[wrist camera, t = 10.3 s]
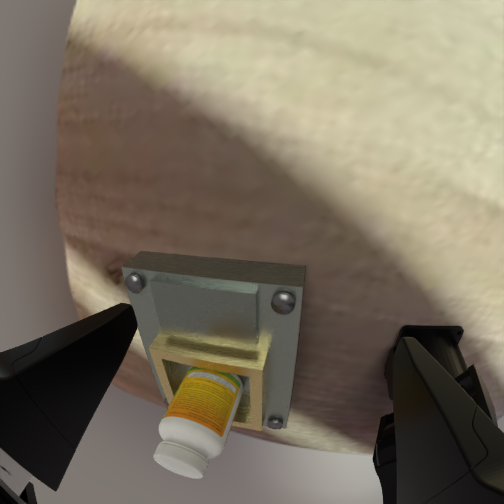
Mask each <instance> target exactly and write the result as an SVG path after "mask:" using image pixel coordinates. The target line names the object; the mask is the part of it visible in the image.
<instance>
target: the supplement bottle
mask: <svg viewBox="0 0 504 504" xmlns="http://www.w3.org/2000/svg"><path fill="white" fill-rule="evenodd" d="M242 393H243V383H242V381H241V379H240V378H239V377H238V376H237V375H236V374H230V373H224V372H219V371H214V370H209V369H204V368H199V367H194V366H191V367H190V368H189V369H188V371H187V373H186V375H185V376H184V379H183V380H182V382H181V384H180V386H179V388H178V390H177V392H176V394H175V396H174V398H173V400H172V401H171V403H170V405H169V407H168V409H167V411H166V413H165V414H164V416H163V418H162V420H161V422H160V424H159V433H160V436H161V437H162V439H163V440H164V441H162V442H160V444H159V445H158V447H157V449H156V452H155V454H154V459H155V460H156V462H158V463H159V464H160V465H162V466H163V467H165V468H166V469H169V470H170V471H172V472H175V473H177V474H180V475H182V476H186V477H190V478H197V479H199V478H202V477H203V476H204V473H205V471H206V469H207V467H208V460H207V459H209V458H214V457H216V456H218V455H219V454H220V453H221V452H222V451H223V448H224V446H225V443H226V440H227V437H228V435H229V432H230V429H231V426H232V423H233V420H234V417H235V414H236V411H237V408H238V406H239V403H240V400H241V396H242Z"/></svg>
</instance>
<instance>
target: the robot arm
mask: <svg viewBox="0 0 504 504" xmlns="http://www.w3.org/2000/svg"><path fill="white" fill-rule="evenodd" d="M137 327H138V323H137V319H136V315H135V312H134V308H133V306H132V305H130V304H126V303H120V304H118V305H115V306H113V307H110V308H108V309H106V310H103V311H101V312H99V313H96V314H94V315H92V316H89V317H87V318H85V319H82V320H80V321H78V322H75V323H73V324H71V325H68V326H66V327H63V328H61V329H59V330H56V331H54V332H52V333H49V334H47V335H45V336H43V337H40V338H38V339H35V340H33V341H31V342H28V343H26V344H23V345H20V346H18V347H15V348H12V349H9V350H6V351H4V352H0V504H37V501H36V496H35V492H34V487H33V484H32V483H31V482H30V481H29V480H30V479H31V478H32V476H34V477H36V478H37V479H38V480H40V481H41V482H43V483H44V484H45V485H47V486H48V487H50V488H51V489H53V490H54V491H57V489H58V488H59V485H60V483H61V481H62V479H63V476H64V474H65V472H66V470H67V468H68V466H69V463H70V461H71V459H72V457H73V455H74V453H75V451H76V448H77V447H78V444H79V442H80V440H81V438H82V436H83V434H84V433H85V431H86V429H87V427H88V424H89V423H90V421H91V419H92V417H93V415H94V413H95V411H96V409H97V407H98V405H99V404H100V402H101V400H102V398H103V396H104V394H105V392H106V391H107V389H108V387H109V385H110V383H111V381H112V380H113V378H114V376H115V374H116V373H117V371H118V369H119V367H120V365H121V363H122V361H123V359H124V357H125V355H126V353H127V350H128V348H129V346H130V344H131V341H132V339H133V337H134V335H135V332H136V330H137ZM405 331H407V332H405ZM457 332H458V333H457ZM463 332H464V330H463V328H462V327H461V326H412V325H407V326H404V327H403V328H402V329H401V331H400V334H399V337H398V339H397V342H396V345H395V346H394V347H393V348H392V350H391V352H390V355H389V358H388V360H387V363H386V365H385V373H384V376H385V378H386V379H387V384H388V392H389V398H390V400H393V411H394V412H393V413H391V414H389V415H388V414H387V415H385V416H382V417H381V420H380V425H379V430H378V435H377V440H376V444H375V449H374V454H373V463H374V466H375V470H376V473H377V475H378V477H379V479H380V483H381V487H382V493H383V504H504V433H503V432H502V431H501V430H500V429H499V428H498V424H497V419H496V413H495V408H494V405H493V402H492V400H491V397H490V394H489V392H488V389H487V387H486V385H485V383H484V381H483V379H482V378H481V376H480V374H479V372H478V370H477V369H476V367H475V365H474V364H473V365H471V366H470V367H468V368H467V366H466V363H465V361H464V358H463V356H462V353H461V351H460V349H459V346H458V343H459V341H460V339H461V337H462V335H463Z"/></svg>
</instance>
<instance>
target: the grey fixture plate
mask: <svg viewBox="0 0 504 504" xmlns="http://www.w3.org/2000/svg"><path fill="white" fill-rule="evenodd" d="M305 268H306V266H301V265H289V264H277V263H265V262H253V261H242V260H231V259H219V258H208V257H197V256H186V255H176V254H165V253H154V252H144V251H140V252H139V253H138V254H137V255H135V256H134V257H133V258H132V259H130V260H129V261H128V262H127V263H126V264H124V265H123V266H122V271H123V275H124V279H125V285H126V287H127V291H128V295H129V299H130V302H131V305H132V306H133V308H134V312H135V315H136V319H137V323H138V330H139V333H140V336H141V339H142V342H143V345H144V348H145V351H146V354H147V357H148V360H149V363H150V366H151V368H152V371H153V374H154V376H155V379H156V382H157V384H158V387H159V390H160V392H161V395H162V397H163V400H164V402H165V404H167V405H168V406H169V405H170V403H171V401H172V400H173V398H174V396H175V394H176V392H177V390H178V388H179V386H180V384H181V382H182V380H183V379H184V376H185V375H186V373H187V371H188V369H189V368H190V367H191V366H194V367H199V368H204V369H209V370H214V371H219V372H224V373H230V374H236V375H237V376H238V377H239V378H240V379H241V381H242V383H243V393H242V396H241V400H240V403H239V406H238V408H237V411H236V414H235V417H234V420H233V423H232V426H236V427H241V428H247V429H252V430H258V431H262V428H263V425H264V426H268V427H269V428H272V429H281V428H286V427H287V422H288V417H289V411H290V405H291V398H292V391H293V384H294V376H295V368H296V360H297V352H298V343H299V334H300V324H301V314H302V304H303V293H304V281H305Z"/></svg>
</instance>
